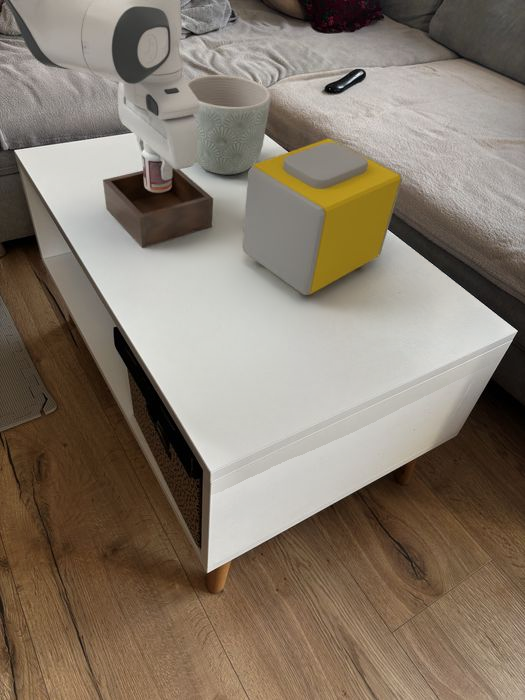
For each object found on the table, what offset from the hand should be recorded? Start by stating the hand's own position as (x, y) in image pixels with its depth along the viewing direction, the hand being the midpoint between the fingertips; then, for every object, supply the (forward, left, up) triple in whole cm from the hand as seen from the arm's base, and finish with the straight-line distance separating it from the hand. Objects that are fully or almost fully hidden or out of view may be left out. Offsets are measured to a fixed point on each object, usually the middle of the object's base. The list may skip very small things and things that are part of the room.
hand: (157, 170), depth 93 cm
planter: (+22, +12, -10) cm, 27 cm away
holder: (0, 0, -9) cm, 9 cm away
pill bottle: (0, 0, -3) cm, 3 cm away
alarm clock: (+16, -24, -10) cm, 30 cm away
